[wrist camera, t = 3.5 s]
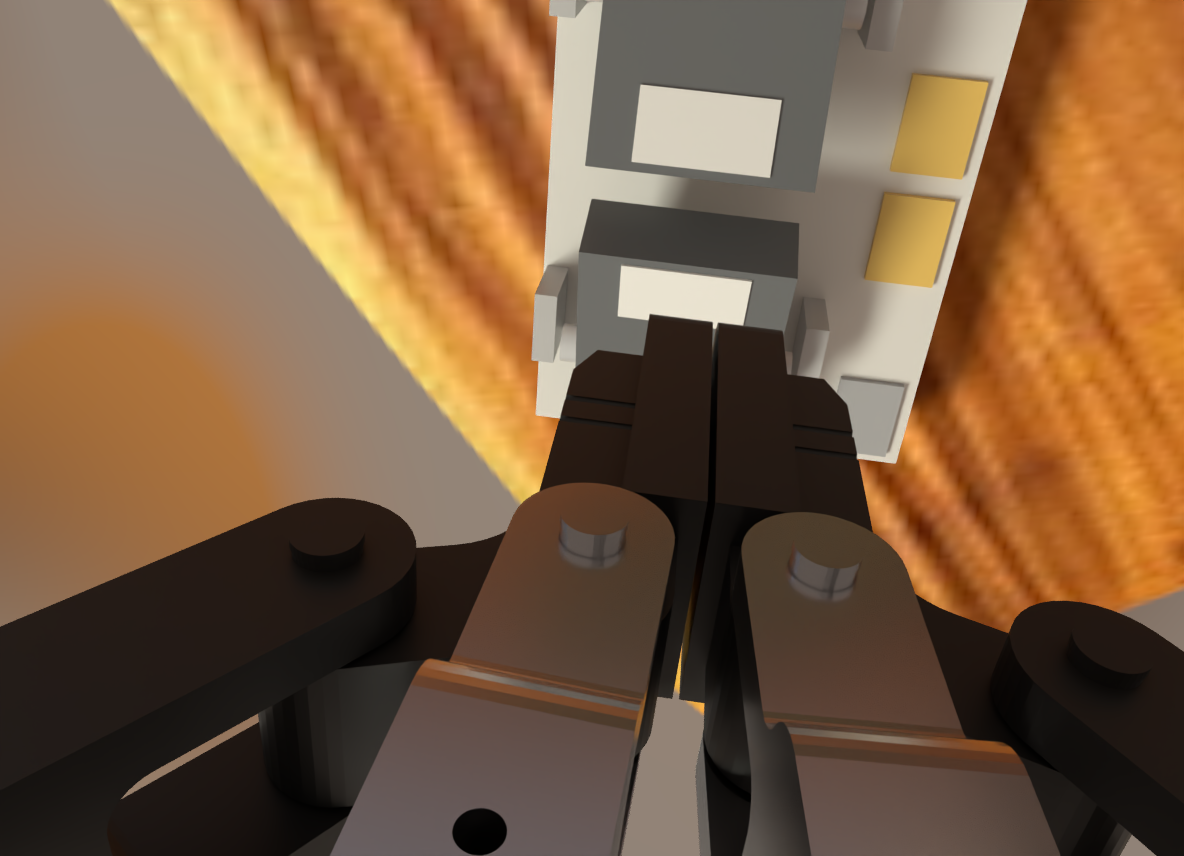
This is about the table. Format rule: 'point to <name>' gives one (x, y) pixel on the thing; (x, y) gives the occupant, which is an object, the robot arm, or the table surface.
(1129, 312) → the table surface
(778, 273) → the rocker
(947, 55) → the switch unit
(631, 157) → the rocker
